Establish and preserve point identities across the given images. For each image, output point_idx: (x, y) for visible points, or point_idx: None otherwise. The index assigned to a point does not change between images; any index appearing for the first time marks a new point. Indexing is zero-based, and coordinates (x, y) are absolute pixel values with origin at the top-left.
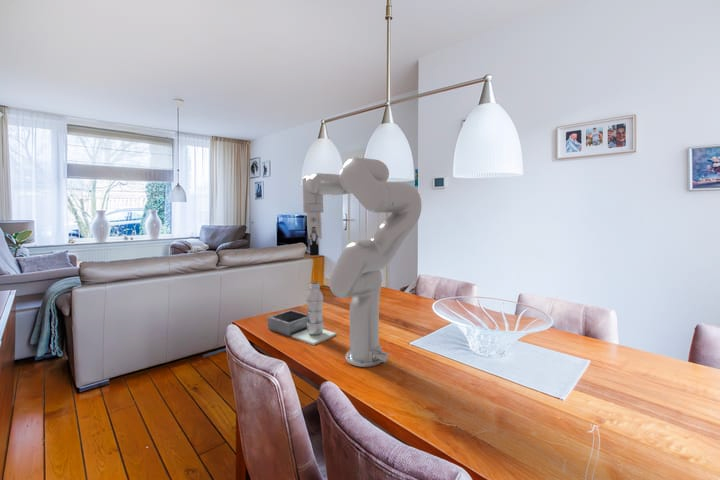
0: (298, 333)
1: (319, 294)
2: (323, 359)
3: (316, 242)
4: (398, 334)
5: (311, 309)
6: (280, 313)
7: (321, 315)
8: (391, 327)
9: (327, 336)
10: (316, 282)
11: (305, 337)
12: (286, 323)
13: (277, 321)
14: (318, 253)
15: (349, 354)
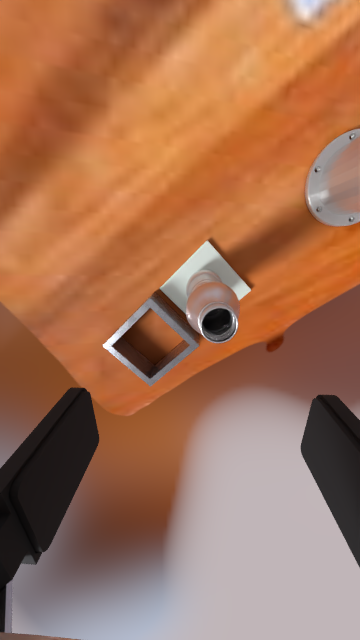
0: None
1: (232, 297)
2: (318, 270)
3: (22, 503)
4: (234, 46)
5: (226, 310)
6: (128, 365)
7: (215, 279)
8: (176, 61)
9: (223, 260)
10: (202, 318)
11: None
12: (193, 350)
13: (172, 366)
14: (342, 406)
15: (336, 216)
